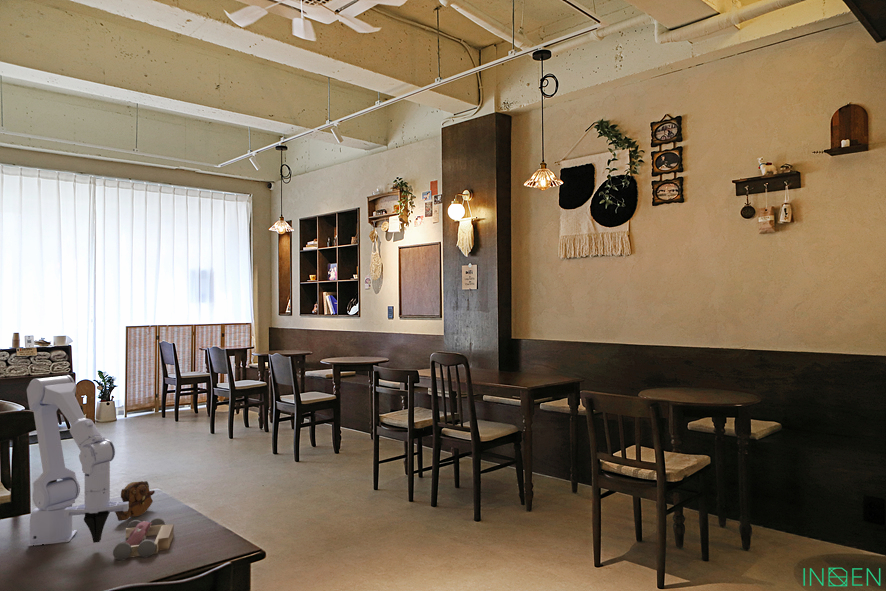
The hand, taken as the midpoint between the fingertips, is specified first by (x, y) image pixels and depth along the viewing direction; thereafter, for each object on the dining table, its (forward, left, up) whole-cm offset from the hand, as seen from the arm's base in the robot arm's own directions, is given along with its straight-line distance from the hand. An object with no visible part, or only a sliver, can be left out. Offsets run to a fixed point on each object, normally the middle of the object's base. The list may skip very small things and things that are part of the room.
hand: (97, 541), depth 157 cm
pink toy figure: (+9, +1, -3) cm, 10 cm away
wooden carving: (+5, +25, -3) cm, 26 cm away
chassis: (+12, 0, -2) cm, 12 cm away
